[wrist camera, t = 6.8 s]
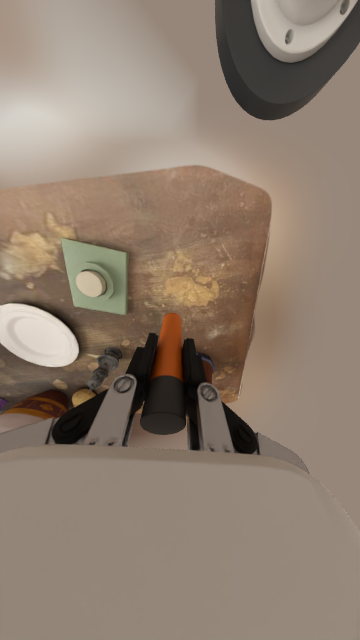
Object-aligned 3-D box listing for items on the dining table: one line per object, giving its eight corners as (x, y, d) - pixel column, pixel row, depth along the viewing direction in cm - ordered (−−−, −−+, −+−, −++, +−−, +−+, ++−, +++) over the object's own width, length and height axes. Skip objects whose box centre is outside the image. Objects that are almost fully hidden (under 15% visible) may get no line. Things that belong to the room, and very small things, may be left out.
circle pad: (79, 267, 25) (73, 268, 23) (106, 273, 26) (101, 274, 24) (83, 292, 27) (77, 294, 26) (107, 296, 28) (103, 299, 26)
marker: (164, 310, 15) (140, 410, 6) (182, 313, 16) (190, 414, 6) (162, 326, 16) (138, 433, 7) (179, 329, 17) (181, 436, 7)
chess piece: (124, 361, 40) (105, 399, 30) (105, 360, 40) (79, 398, 30) (121, 346, 38) (100, 383, 27) (101, 345, 37) (71, 382, 27)
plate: (74, 308, 32) (69, 311, 30) (88, 366, 41) (84, 370, 40) (-19, 294, 30) (-31, 296, 28) (18, 358, 39) (11, 363, 38)
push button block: (66, 238, 25) (52, 236, 22) (128, 252, 26) (122, 252, 23) (78, 304, 31) (68, 308, 29) (127, 312, 33) (123, 318, 30)
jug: (45, 411, 54) (-85, 566, 27) (14, 384, 45) (-218, 570, 19) (89, 407, 53) (-1, 564, 26) (65, 379, 44) (-103, 568, 18)
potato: (89, 402, 51) (78, 420, 45) (75, 384, 46) (61, 402, 40) (105, 400, 51) (96, 418, 45) (93, 382, 45) (81, 401, 40)
